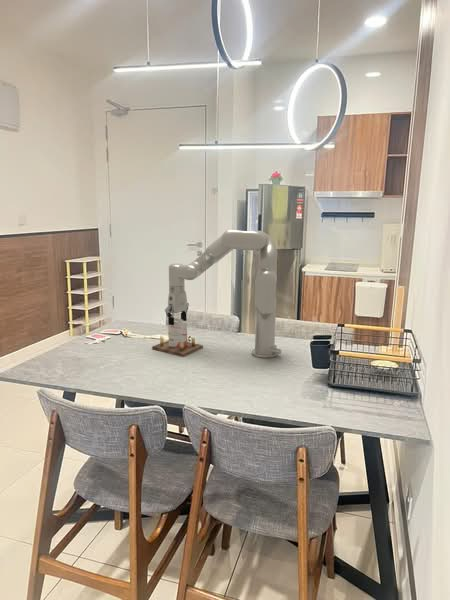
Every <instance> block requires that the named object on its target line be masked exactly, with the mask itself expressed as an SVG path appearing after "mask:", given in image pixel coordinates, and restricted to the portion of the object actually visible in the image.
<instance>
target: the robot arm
mask: <svg viewBox="0 0 450 600" xmlns="http://www.w3.org/2000/svg"><path fill="white" fill-rule="evenodd" d="M276 246H277V245H276V243H275V241H274V240H273V237H271V236H270V235H269V234H268V233H266V232H264V231H262V230H253V231H249V230H238V229H235V228H230V229H227V230H225V231H224V232H223V233H222V234H221V235H220V236H219V237H218V238H217V239H216V240H214V241H213V242H212V243H211V244H210V245H208V246H207V247H206V249H205V250H204V252H202V254H201V255H200V256H198V257H197V258H195V260H193V261H192V262H190V263H189V264H183V263H171V264H169V265H168V288H169V289H168V290H169V292H168V297H167V298H168V299H167V307H166V308H165V309H164V312H165V314H166V317H167V321H168V324H169V325H174V322H175V321H174V319H175V317H174V316H175V314H179V313H180V319H183V322H187V314H188V310H189V305H190V304H189V302H188V298H187V292H186V289H185V288H186V287H185V281H193V280H195V279H198V277H200V276H201V275H202V274H203V273H205V272H206V271H207V270H209V268H211V267H212V266H213V265H215V264H217V263H218V262H220V260H222V259H223V258H224V257H225V256H226V255H228V254H229V253H230V252H232V251H233V250H242V251H243V250H244V251H255V252H256V251H258V269H257V274H256V277H255V280H254V281H255V282H254V308H255V323H254V324H255V327H254V330H255V331H254V332H255V334H254V335H255V336H254V348H253V349H252V350H251V355H252V356H254V357H257V358H263V359H267V358H268V359H269V358H274V357H276V356H278V355H282V349H281V348H277V344H275V343H276V342H275V341H276V316H277V315H276V313H277V297H276V296H277V280H278V276H277V268H278V267H277V265H278V263H277V261H278V257H277V256H278V254H277V247H276Z"/></svg>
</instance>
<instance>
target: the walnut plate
mask: <svg viewBox="0 0 450 600" xmlns="http://www.w3.org/2000/svg"><path fill="white" fill-rule="evenodd" d="M151 349H152V350H154V351H158V352H162V353H165V354H169V355H170V354H171V355H174V356H177V357H182V358H184V357H186V356H188V355H191V354H192V353H196V352H198V351H200V350H202V349H204V345H203V344H199V343H195V346H192V342H189V341H187V346H186V347H184V351H180V348H179V347H171V346H169V339H168V340H165V341H164V346H160V343H158V344H155V345H152V347H151Z"/></svg>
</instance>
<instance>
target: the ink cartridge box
mask: <svg viewBox="0 0 450 600" xmlns="http://www.w3.org/2000/svg"><path fill="white" fill-rule="evenodd" d="M167 327H168V328H167V329H168V330H167V332H168V335H167V336H168V340H169V346H171V347H179V348H180V343H181V342H183V343H184V347H186V346H187V342H188V323H187V322H184V321H183V319H181V318H174V325H169V324H168V325H167Z"/></svg>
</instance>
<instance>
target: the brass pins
mask: <svg viewBox="0 0 450 600" xmlns="http://www.w3.org/2000/svg"><path fill="white" fill-rule="evenodd" d="M159 341H160V342H159V344H160V346H164V342H165V341H164V337H160V338H159ZM191 343H192V346H195V344H196V338H195V337H191ZM180 351H184V343H183V342H181V343H180Z"/></svg>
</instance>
